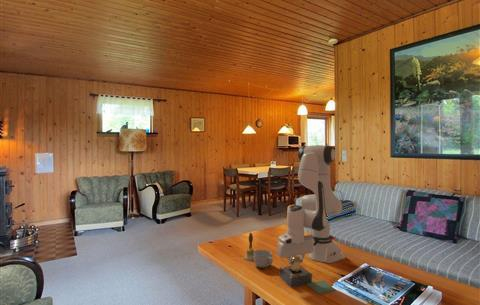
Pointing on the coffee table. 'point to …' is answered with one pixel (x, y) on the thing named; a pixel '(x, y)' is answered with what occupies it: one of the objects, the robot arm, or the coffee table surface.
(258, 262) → the teacup
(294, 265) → the plug
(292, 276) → the housing
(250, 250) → the hand bell
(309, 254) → the robot arm
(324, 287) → the coaster
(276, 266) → the coffee table surface
